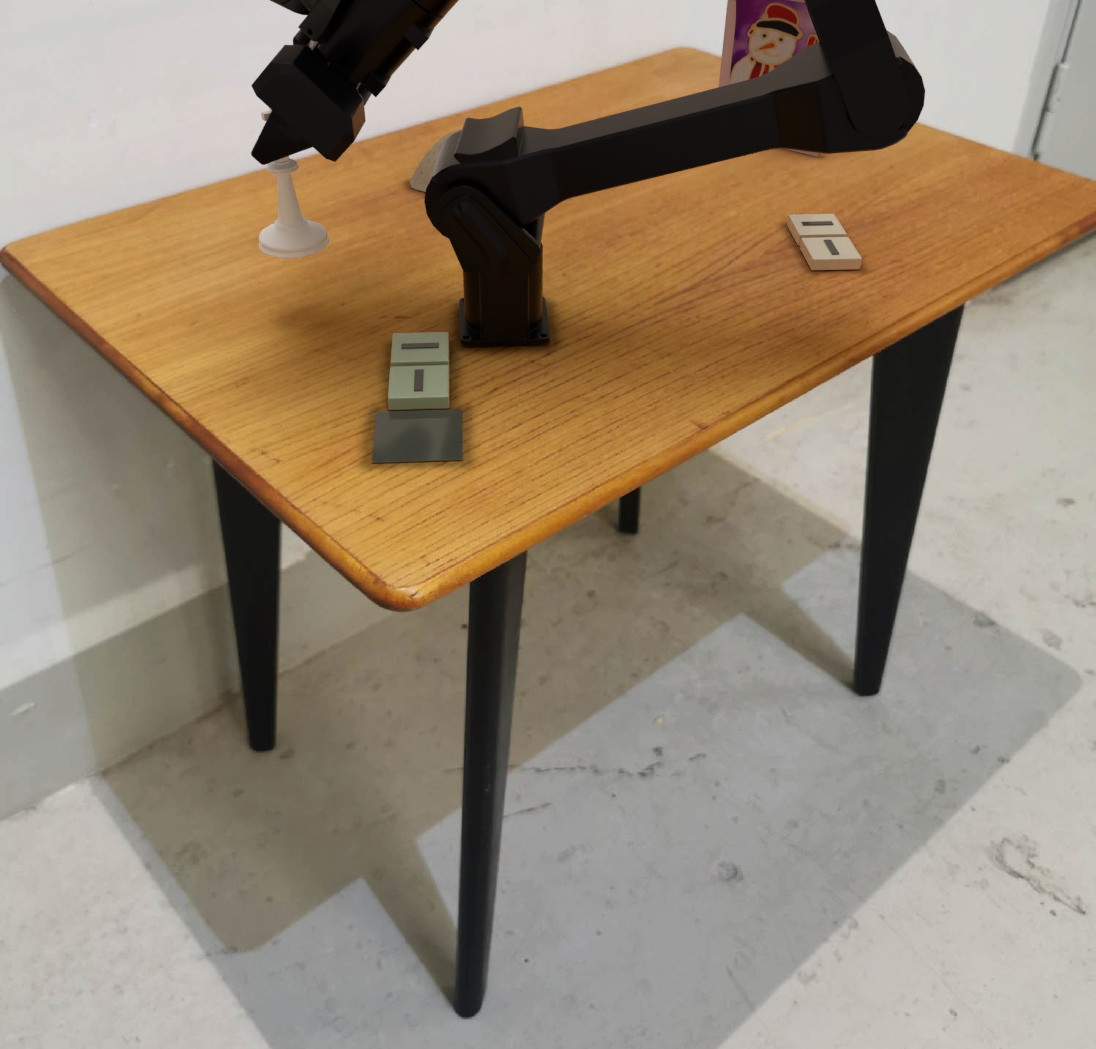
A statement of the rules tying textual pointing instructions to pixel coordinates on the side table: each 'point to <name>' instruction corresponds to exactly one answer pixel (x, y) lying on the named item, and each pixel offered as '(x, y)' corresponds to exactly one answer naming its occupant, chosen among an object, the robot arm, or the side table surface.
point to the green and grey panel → (418, 403)
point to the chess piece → (290, 218)
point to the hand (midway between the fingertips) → (261, 152)
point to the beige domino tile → (823, 242)
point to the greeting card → (763, 38)
